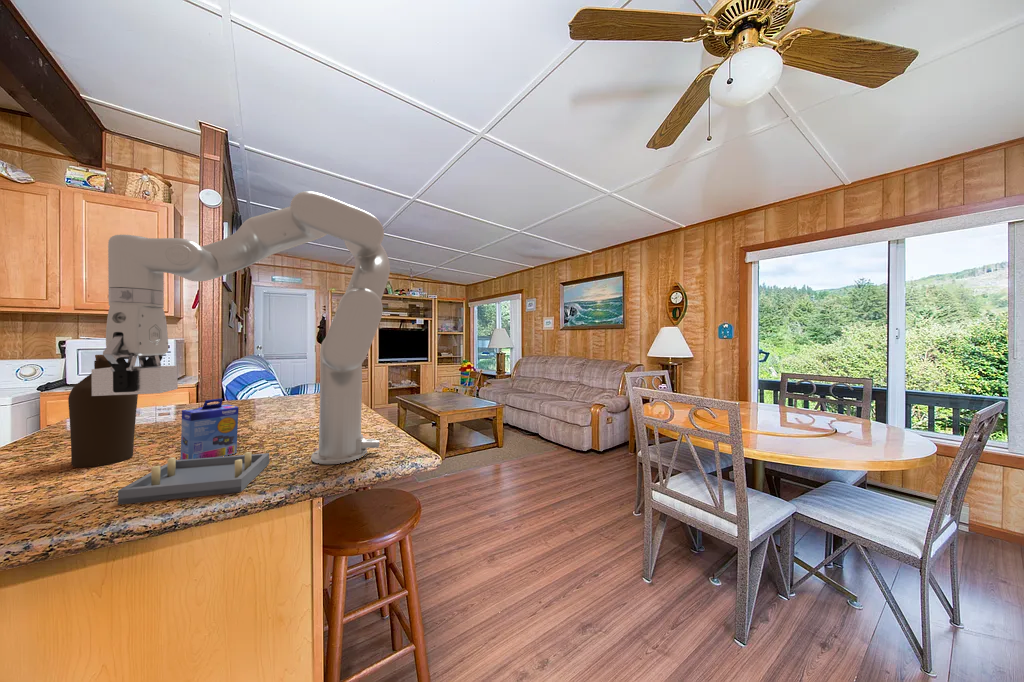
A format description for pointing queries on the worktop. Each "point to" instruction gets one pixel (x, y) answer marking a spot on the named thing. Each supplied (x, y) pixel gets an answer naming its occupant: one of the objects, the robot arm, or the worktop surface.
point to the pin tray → (195, 478)
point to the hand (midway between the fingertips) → (137, 388)
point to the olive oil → (100, 423)
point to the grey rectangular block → (147, 380)
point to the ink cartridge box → (209, 431)
